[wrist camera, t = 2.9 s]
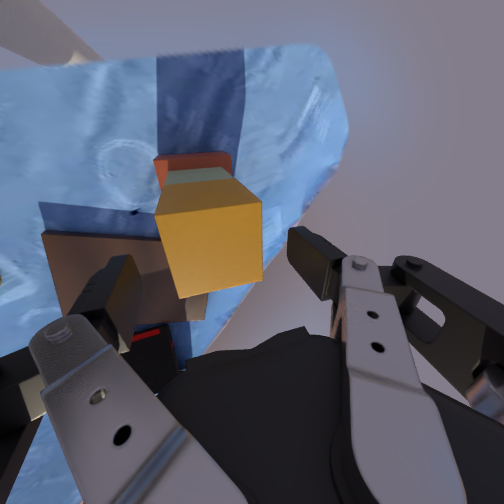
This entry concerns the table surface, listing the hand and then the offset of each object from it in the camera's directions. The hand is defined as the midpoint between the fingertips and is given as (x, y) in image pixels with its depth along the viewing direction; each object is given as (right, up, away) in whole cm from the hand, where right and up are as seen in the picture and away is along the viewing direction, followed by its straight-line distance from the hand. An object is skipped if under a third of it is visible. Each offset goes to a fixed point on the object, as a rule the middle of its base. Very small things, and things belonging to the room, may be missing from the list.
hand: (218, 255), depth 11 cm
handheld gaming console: (-14, -18, +19) cm, 29 cm away
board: (-13, -4, +17) cm, 22 cm away
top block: (-2, +3, +5) cm, 6 cm away
